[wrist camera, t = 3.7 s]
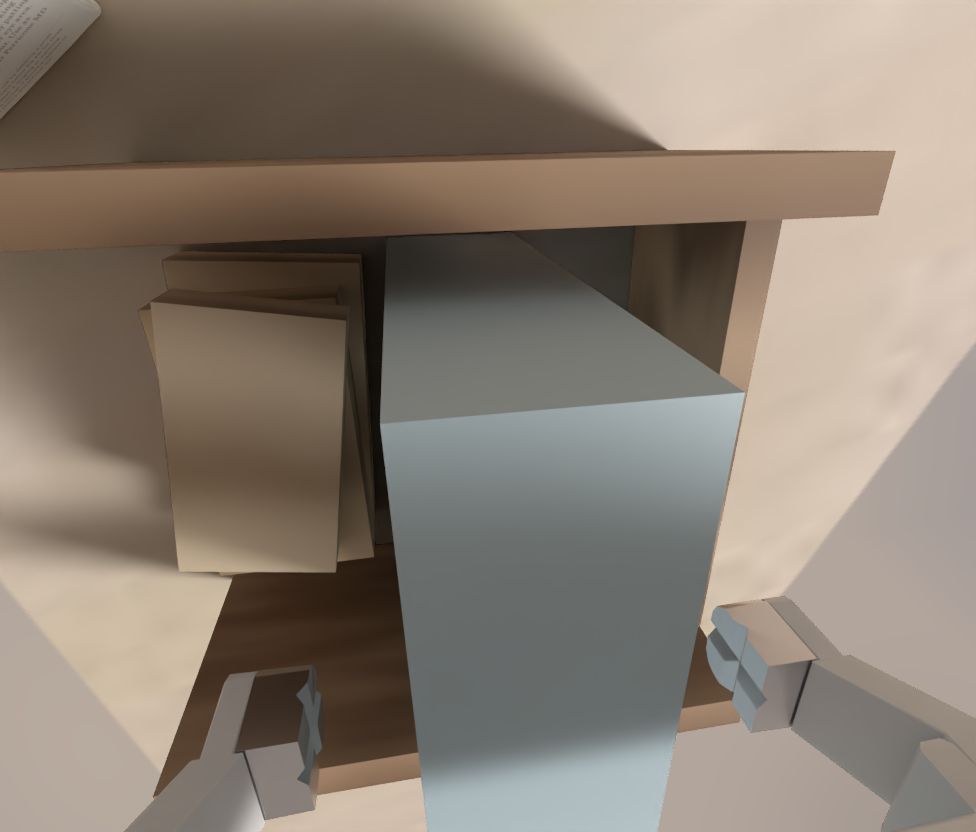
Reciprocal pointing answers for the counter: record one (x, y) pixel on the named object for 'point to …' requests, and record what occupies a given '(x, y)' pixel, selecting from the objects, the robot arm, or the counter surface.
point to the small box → (37, 40)
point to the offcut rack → (434, 210)
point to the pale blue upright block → (544, 533)
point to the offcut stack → (265, 410)
